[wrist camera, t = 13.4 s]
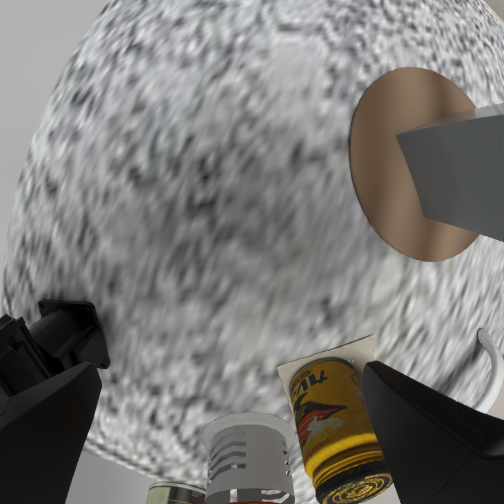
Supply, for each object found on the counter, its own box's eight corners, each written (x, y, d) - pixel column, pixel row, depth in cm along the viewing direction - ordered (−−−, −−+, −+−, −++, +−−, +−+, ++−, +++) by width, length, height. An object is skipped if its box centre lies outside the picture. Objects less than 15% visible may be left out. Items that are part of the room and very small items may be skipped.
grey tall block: (424, 217, 18) (578, 272, 5) (395, 135, 17) (562, 108, 3) (474, 187, 18) (606, 214, 4) (450, 114, 16) (587, 94, 3)
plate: (346, 263, 20) (349, 266, 19) (341, 51, 16) (343, 48, 15) (486, 256, 20) (489, 258, 19) (485, 95, 16) (489, 95, 16)
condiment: (275, 365, 22) (296, 490, 10) (371, 334, 21) (443, 433, 10) (294, 417, 24) (314, 521, 12) (375, 390, 23) (424, 481, 12)
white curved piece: (376, 468, 28) (390, 503, 21) (321, 457, 26) (332, 503, 19) (496, 348, 24) (527, 375, 17) (467, 310, 22) (510, 342, 15)
